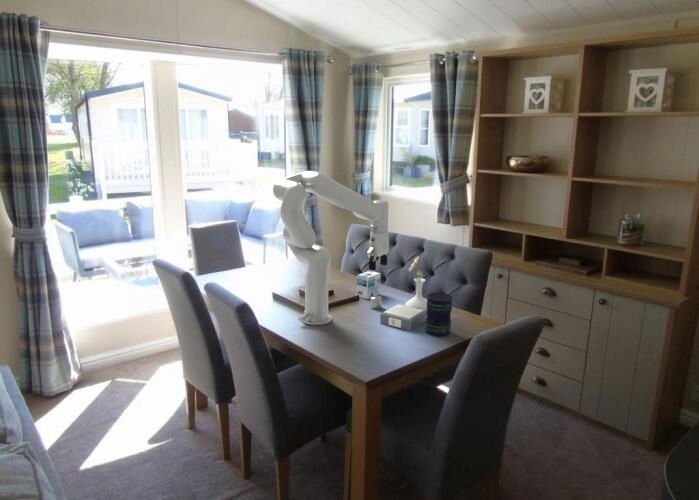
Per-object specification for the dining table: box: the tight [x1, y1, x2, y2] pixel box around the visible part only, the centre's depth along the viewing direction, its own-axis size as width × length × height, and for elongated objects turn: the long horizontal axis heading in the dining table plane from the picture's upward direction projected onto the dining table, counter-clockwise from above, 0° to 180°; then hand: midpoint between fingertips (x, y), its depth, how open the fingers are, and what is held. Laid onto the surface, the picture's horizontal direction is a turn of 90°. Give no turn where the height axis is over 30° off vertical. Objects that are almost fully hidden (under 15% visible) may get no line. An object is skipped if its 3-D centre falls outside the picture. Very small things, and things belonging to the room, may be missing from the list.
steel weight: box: [369, 295, 383, 311], centre depth 235 cm, size 5×5×5 cm
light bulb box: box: [356, 270, 381, 300], centre depth 251 cm, size 11×7×11 cm, turn 143°
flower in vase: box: [404, 256, 427, 312], centre depth 231 cm, size 13×11×25 cm
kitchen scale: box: [379, 304, 427, 332], centre depth 218 cm, size 15×14×5 cm
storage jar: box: [424, 292, 453, 338], centre depth 207 cm, size 10×10×15 cm
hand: (378, 267), depth 231 cm, fingers open, 9 cm apart
